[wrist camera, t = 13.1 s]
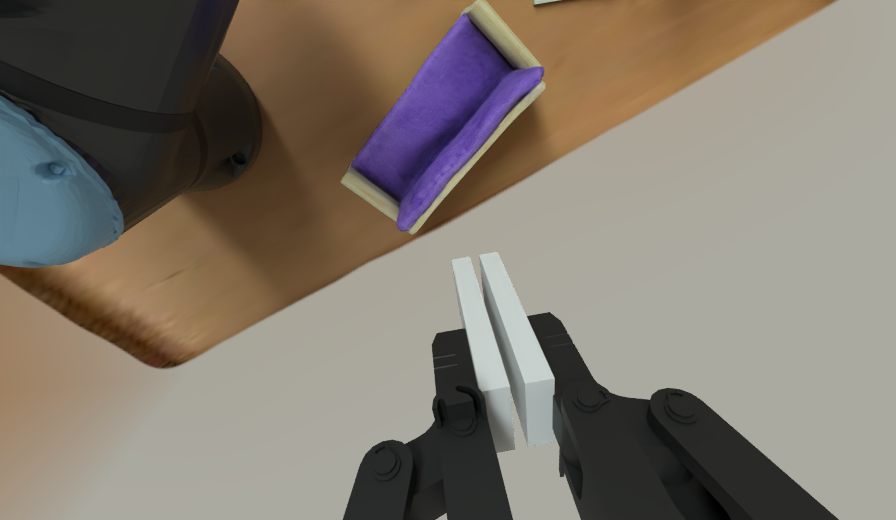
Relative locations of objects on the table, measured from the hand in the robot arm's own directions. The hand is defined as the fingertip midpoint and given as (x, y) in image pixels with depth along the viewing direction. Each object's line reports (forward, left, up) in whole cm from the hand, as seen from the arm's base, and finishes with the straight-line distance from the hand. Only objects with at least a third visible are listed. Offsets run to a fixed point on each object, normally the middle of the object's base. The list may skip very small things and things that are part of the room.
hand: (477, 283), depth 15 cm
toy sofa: (0, +2, -31) cm, 31 cm away
